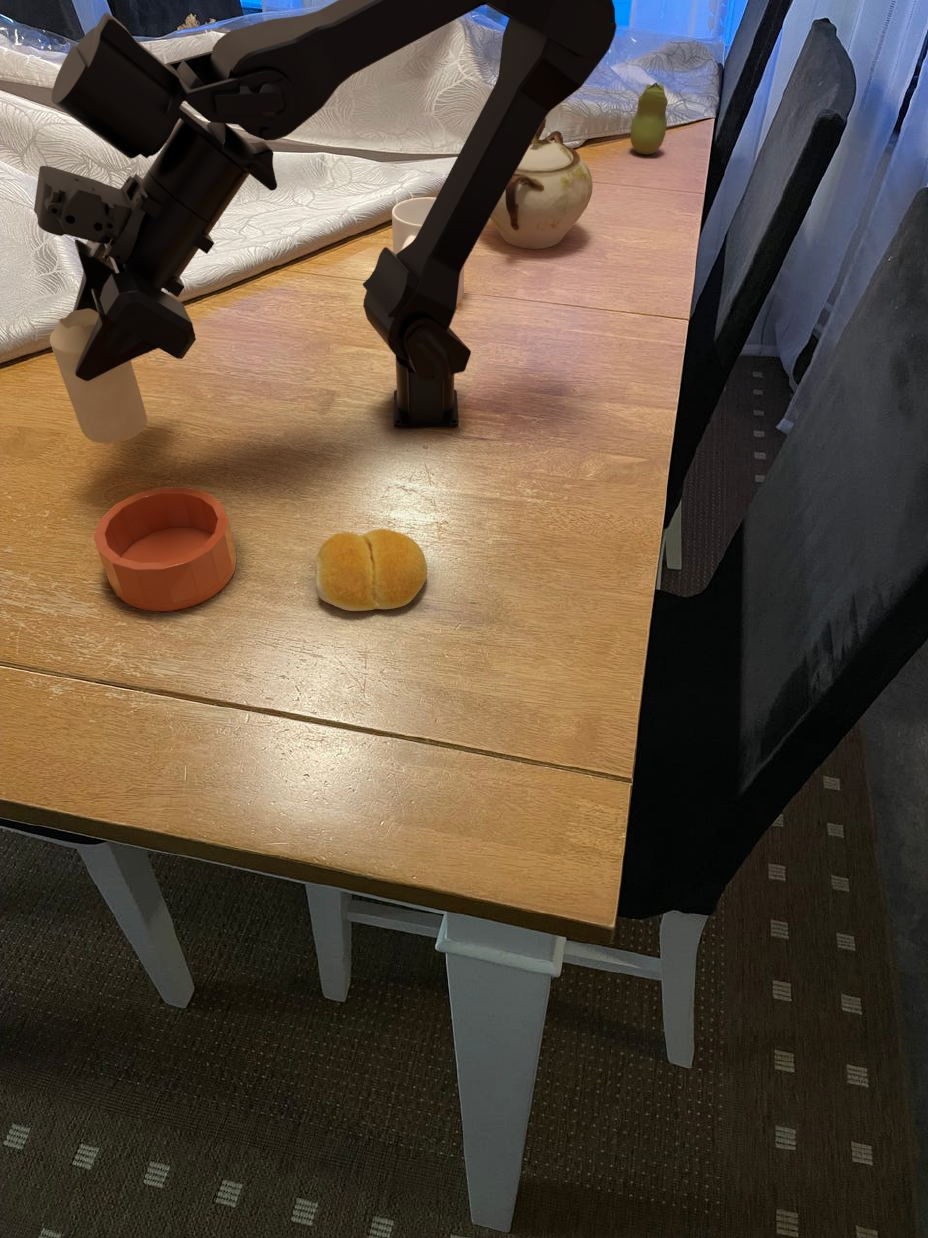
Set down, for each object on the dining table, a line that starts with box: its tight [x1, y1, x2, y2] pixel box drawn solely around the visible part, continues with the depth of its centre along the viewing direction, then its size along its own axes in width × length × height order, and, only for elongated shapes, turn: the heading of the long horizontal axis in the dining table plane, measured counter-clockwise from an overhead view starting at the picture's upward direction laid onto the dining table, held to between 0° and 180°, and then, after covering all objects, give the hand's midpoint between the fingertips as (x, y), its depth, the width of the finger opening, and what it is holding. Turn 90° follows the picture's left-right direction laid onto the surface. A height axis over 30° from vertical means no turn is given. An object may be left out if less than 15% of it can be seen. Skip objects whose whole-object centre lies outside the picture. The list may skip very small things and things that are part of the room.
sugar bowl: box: [489, 117, 594, 250], centre depth 114 cm, size 20×15×15 cm
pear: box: [630, 82, 669, 155], centre depth 140 cm, size 6×5×10 cm
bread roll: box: [315, 528, 428, 612], centre depth 70 cm, size 8×9×4 cm
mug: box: [391, 196, 465, 306], centre depth 101 cm, size 12×8×10 cm
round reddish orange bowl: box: [93, 486, 237, 612], centre depth 70 cm, size 10×10×4 cm
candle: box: [49, 309, 148, 444], centre depth 72 cm, size 6×6×10 cm
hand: (75, 360), depth 71 cm, fingers closed on candle, 5 cm apart
